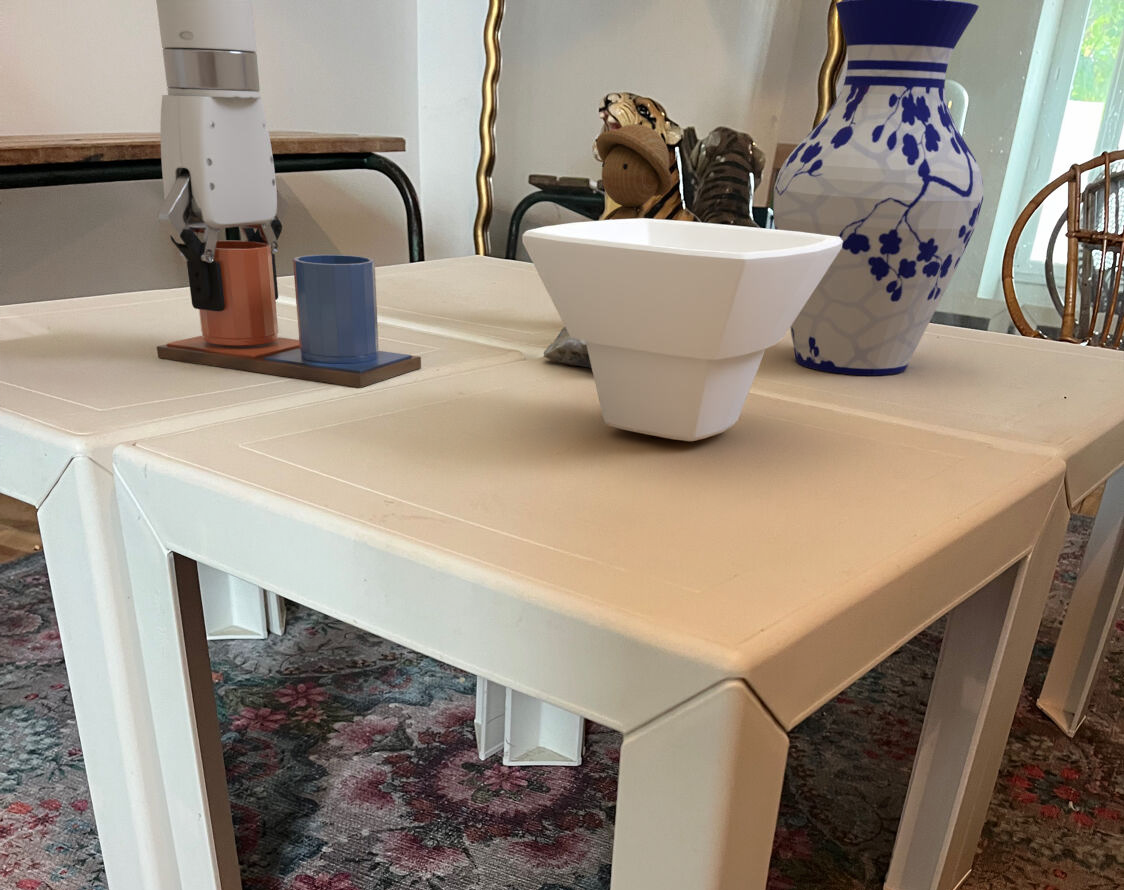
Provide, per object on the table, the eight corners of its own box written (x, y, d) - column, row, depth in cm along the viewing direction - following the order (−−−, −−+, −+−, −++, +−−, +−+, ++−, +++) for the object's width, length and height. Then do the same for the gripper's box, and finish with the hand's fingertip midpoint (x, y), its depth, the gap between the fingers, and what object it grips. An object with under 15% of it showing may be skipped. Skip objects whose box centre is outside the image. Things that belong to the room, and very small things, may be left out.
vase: (973, 364, 114) (1046, 13, 99) (910, 394, 101) (985, -8, 86) (800, 339, 123) (844, 14, 108) (721, 364, 110) (759, -5, 95)
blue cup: (285, 357, 99) (277, 259, 95) (330, 346, 104) (324, 252, 100) (350, 367, 97) (344, 266, 93) (392, 354, 102) (389, 259, 98)
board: (157, 357, 103) (155, 343, 102) (229, 341, 111) (227, 328, 110) (360, 387, 95) (359, 373, 95) (421, 367, 103) (421, 354, 102)
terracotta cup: (186, 340, 103) (174, 244, 99) (235, 329, 108) (225, 238, 104) (246, 348, 100) (236, 251, 96) (293, 337, 106) (285, 244, 102)
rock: (531, 347, 107) (598, 264, 107) (570, 388, 111) (635, 309, 110) (587, 370, 99) (661, 280, 98) (627, 414, 103) (698, 328, 102)
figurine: (572, 326, 125) (581, 121, 115) (620, 321, 129) (632, 123, 119) (628, 340, 119) (641, 124, 109) (675, 334, 123) (693, 126, 113)
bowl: (623, 393, 97) (634, 215, 90) (836, 431, 88) (866, 237, 81) (495, 436, 83) (496, 230, 76) (732, 486, 74) (758, 258, 67)
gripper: (243, 79, 102) (263, 289, 111) (100, 72, 88) (136, 312, 97) (311, 81, 99) (326, 296, 108) (176, 75, 85) (205, 321, 94)
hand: (236, 302), depth 102 cm, fingers closed on terracotta cup, 6 cm apart
